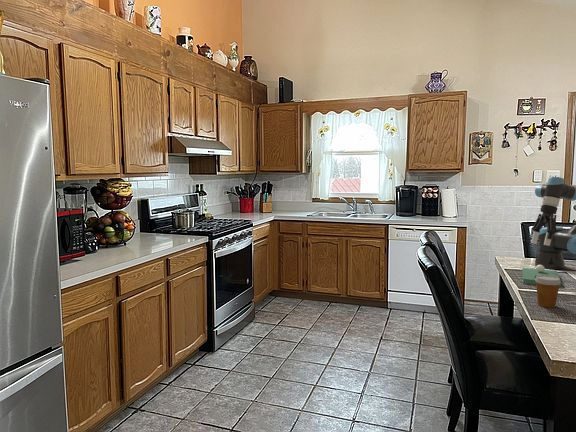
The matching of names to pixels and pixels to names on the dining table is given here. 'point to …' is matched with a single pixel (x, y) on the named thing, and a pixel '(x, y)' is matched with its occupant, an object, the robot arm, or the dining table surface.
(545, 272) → the putting mat
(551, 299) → the disposable coffee cup
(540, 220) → the robot arm
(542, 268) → the golf ball
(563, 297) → the dining table surface
